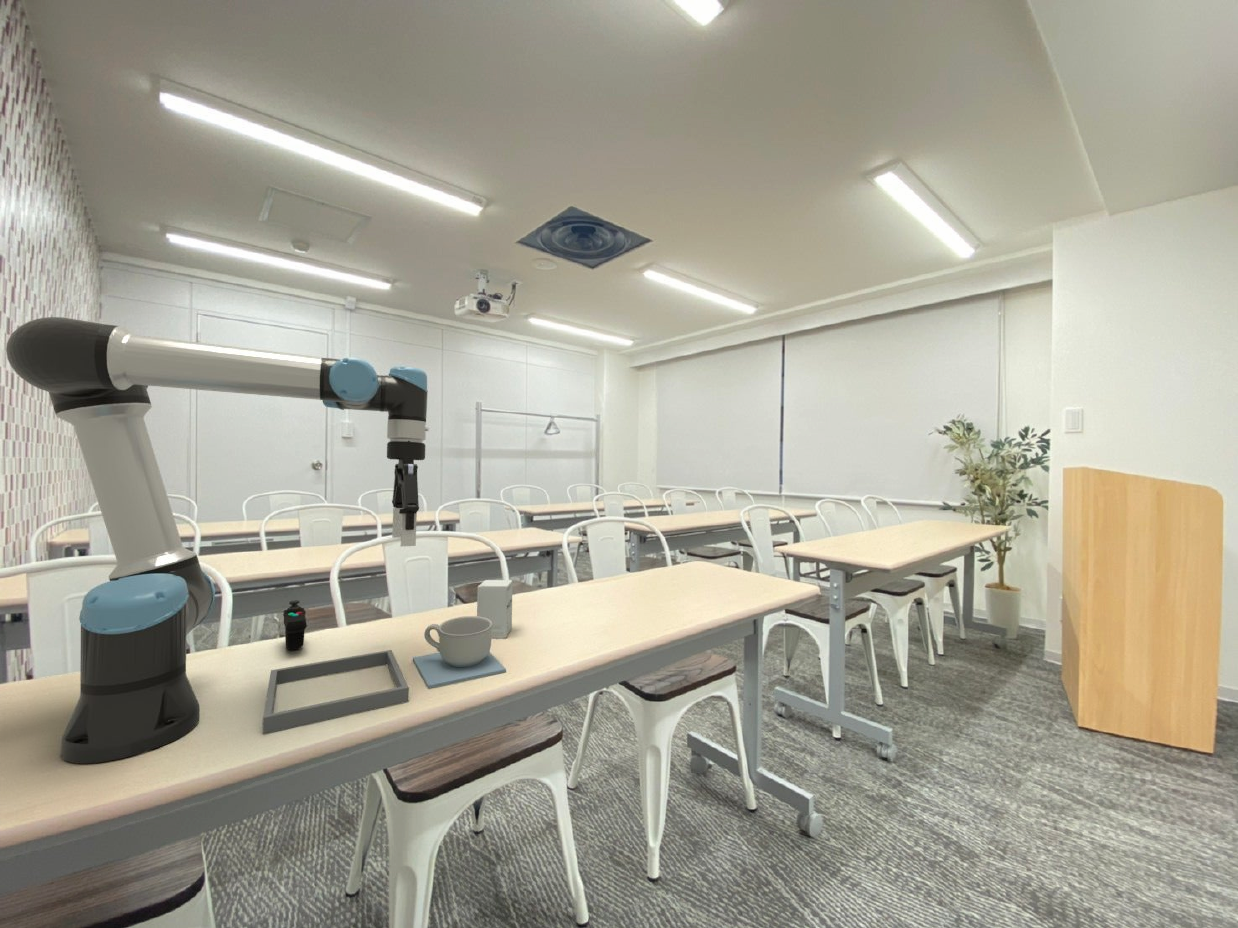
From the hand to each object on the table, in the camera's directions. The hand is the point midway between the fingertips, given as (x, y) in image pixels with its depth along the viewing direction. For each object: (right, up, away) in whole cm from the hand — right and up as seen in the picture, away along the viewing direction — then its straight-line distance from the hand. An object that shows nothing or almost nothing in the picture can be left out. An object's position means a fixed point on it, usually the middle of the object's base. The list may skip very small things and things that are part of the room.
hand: (403, 541), depth 106 cm
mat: (+12, -26, -2) cm, 28 cm away
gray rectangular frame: (-6, -25, -15) cm, 30 cm away
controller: (-27, -25, +6) cm, 38 cm away
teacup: (+12, -25, -1) cm, 28 cm away
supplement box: (+15, -26, +18) cm, 35 cm away
